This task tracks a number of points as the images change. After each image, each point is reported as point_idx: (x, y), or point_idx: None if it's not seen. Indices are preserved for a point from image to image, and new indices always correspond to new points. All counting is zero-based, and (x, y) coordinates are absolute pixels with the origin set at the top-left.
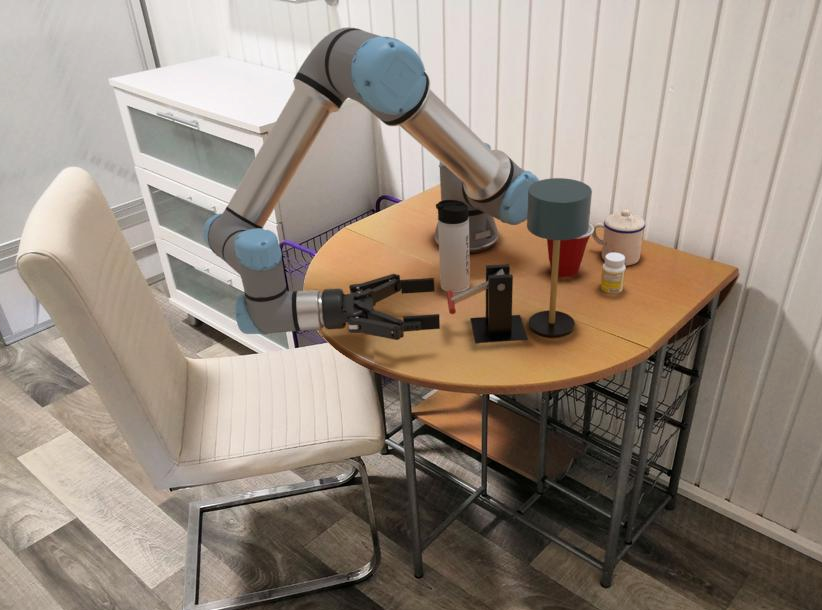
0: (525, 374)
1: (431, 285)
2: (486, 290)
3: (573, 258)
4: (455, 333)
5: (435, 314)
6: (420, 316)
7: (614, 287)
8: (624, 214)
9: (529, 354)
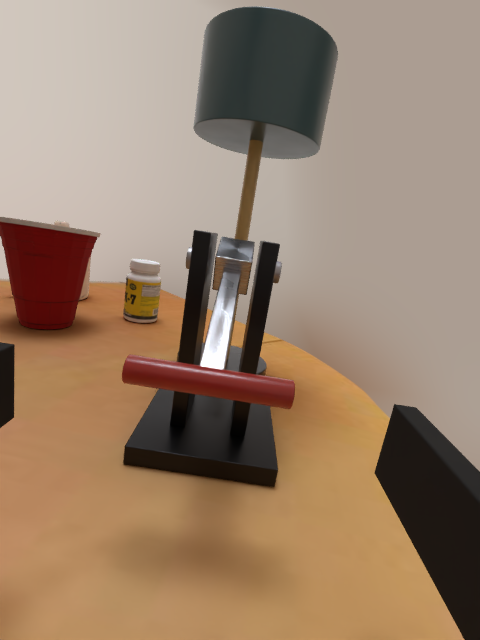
0: (380, 436)
1: (2, 386)
2: (200, 314)
3: (83, 279)
4: (167, 517)
5: (405, 414)
6: (470, 471)
7: (157, 305)
8: (65, 226)
9: (303, 413)
